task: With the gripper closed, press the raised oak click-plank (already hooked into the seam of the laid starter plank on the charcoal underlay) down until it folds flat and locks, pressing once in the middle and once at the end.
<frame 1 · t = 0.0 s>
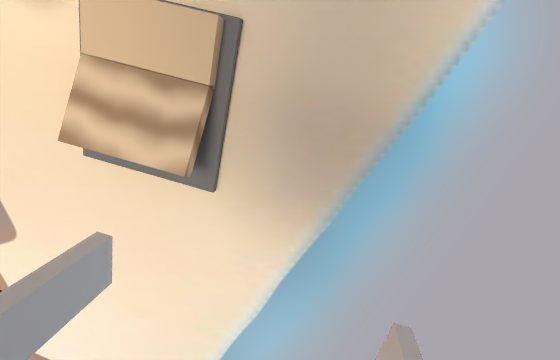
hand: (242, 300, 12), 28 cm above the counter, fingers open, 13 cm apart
plank: (136, 115, 36), point 4 cm above the counter, hinge at 19.9°
underlay: (155, 95, 39), on the counter
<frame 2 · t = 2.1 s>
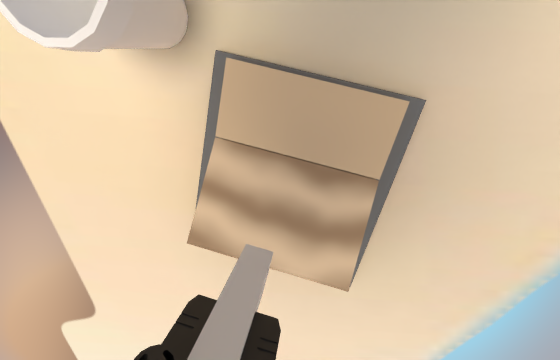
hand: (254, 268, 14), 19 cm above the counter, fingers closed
plank: (281, 211, 30), point 4 cm above the counter, hinge at 19.9°
underlay: (291, 178, 32), on the counter
foam cup: (161, 17, 29), on the counter
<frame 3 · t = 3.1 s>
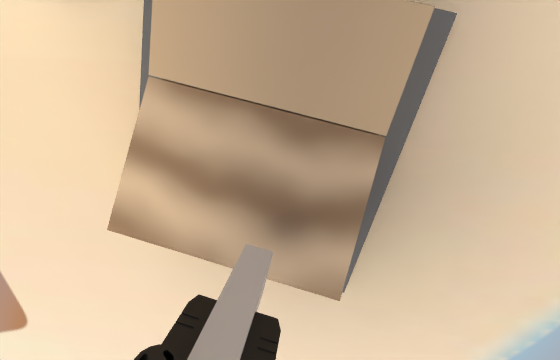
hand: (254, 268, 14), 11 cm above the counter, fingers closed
plank: (244, 185, 21), point 4 cm above the counter, hinge at 19.9°
underlay: (262, 142, 23), on the counter
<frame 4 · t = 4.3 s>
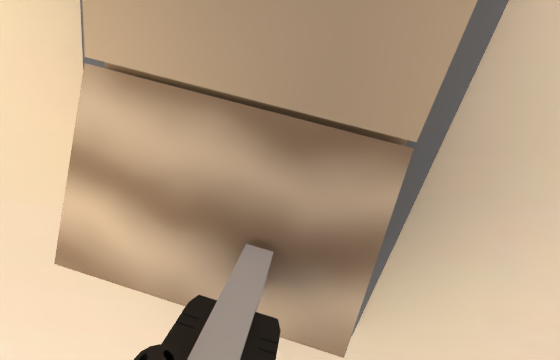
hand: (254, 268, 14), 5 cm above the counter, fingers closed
plank: (221, 208, 16), point 3 cm above the counter, hinge at 13.5°, touching gripper
underlay: (246, 148, 18), on the counter
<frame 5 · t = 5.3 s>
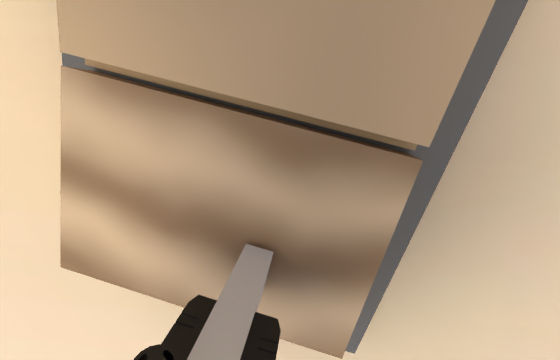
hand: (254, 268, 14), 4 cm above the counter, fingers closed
plank: (218, 215, 15), point 3 cm above the counter, hinge at 4.9°, touching gripper
underlay: (241, 152, 16), on the counter
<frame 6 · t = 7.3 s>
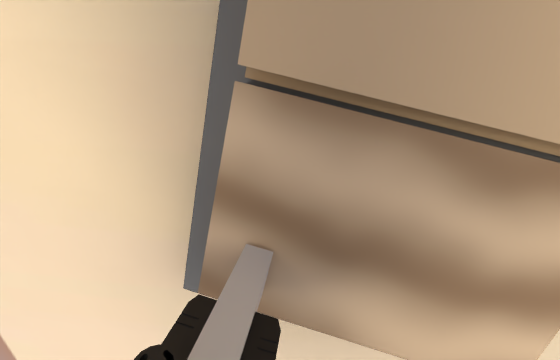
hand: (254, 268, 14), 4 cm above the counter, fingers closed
plank: (381, 240, 14), point 2 cm above the counter, hinge at 2.8°, touching gripper
underlay: (394, 171, 15), on the counter
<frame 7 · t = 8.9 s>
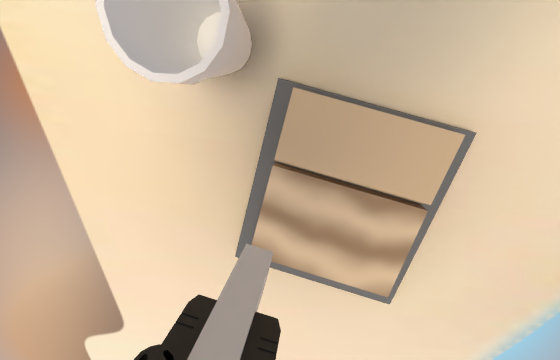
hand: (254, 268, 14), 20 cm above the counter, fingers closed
plank: (331, 230, 33), point 2 cm above the counter, hinge at 2.5°
underlay: (339, 199, 34), on the counter
foam cup: (225, 44, 30), on the counter
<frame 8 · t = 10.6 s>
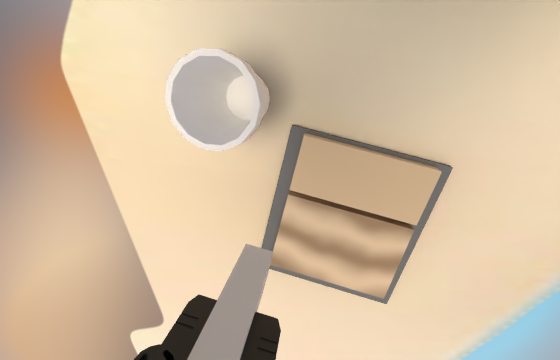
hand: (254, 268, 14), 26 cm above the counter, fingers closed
plank: (336, 244, 40), point 2 cm above the counter, hinge at 2.5°
underlay: (342, 219, 41), on the counter
foam cup: (248, 98, 38), on the counter
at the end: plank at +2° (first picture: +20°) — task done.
